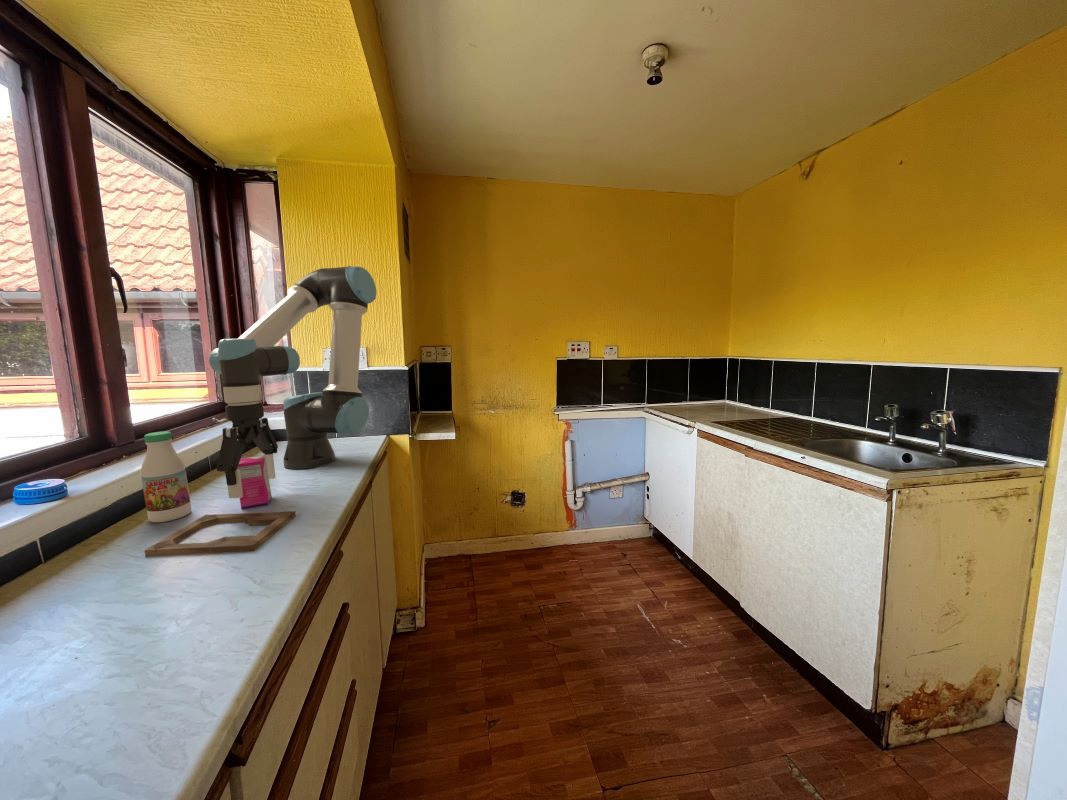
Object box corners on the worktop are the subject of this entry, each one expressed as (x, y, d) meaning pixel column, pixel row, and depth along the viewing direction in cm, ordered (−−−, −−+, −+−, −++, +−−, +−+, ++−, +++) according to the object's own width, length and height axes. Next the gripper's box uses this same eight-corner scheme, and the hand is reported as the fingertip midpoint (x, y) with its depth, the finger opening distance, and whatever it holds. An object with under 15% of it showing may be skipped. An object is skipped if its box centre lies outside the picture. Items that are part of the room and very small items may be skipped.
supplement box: (245, 501, 106) (239, 457, 104) (272, 497, 108) (267, 454, 106) (239, 509, 100) (233, 464, 99) (268, 505, 103) (262, 460, 101)
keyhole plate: (205, 519, 95) (205, 514, 95) (296, 515, 96) (295, 510, 96) (144, 556, 79) (143, 550, 79) (253, 551, 80) (252, 545, 80)
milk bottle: (146, 517, 97) (132, 433, 94) (189, 507, 103) (177, 427, 100) (150, 526, 92) (135, 438, 89) (194, 515, 98) (182, 432, 95)
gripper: (258, 396, 113) (267, 472, 116) (188, 412, 88) (201, 507, 91) (287, 396, 113) (294, 471, 116) (225, 411, 88) (237, 506, 91)
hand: (253, 487), depth 103 cm, fingers open, 13 cm apart
